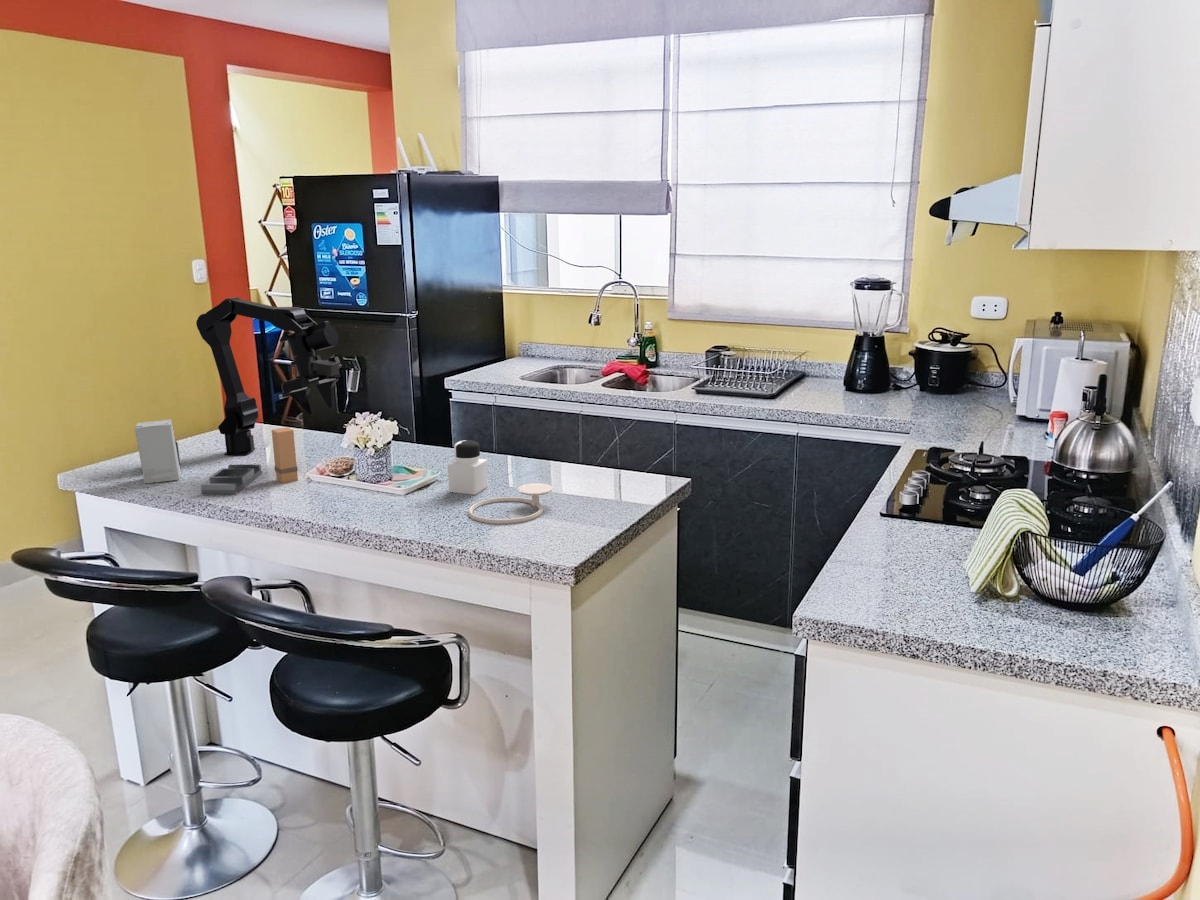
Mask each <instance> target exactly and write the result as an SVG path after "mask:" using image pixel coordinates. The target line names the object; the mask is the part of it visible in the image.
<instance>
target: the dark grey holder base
mask: <svg viewBox="0 0 1200 900" xmlns="http://www.w3.org/2000/svg"><path fill="white" fill-rule="evenodd" d="M261 473H262V465H261V464H228V466H227V468H221V469H219V470H218V471H216V472H214V474H212V475H211V476H209V477H208V478H209V479H208V480H209V481H208V482H209V483H201V485H200V488H201V489H200V490H201V495H202V494H235V495H237V494H238V493H240V492H241V491H242V490H243V489H244V488H246V487H247V486H248V485H249V484H251V483H252V482H253V481H254V480H256V479H257V478H258V477H259V476H260V475H262V474H263V473H262V474H261ZM256 477H257V478H256ZM251 481H252V482H251ZM247 484H248V485H247ZM246 485H247V486H246ZM241 489H242V490H241ZM236 493H237V494H236Z"/></svg>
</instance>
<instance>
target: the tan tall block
mask: <svg viewBox="0 0 1200 900" xmlns="http://www.w3.org/2000/svg"><path fill="white" fill-rule="evenodd" d="M271 436H272V439H271V440H272V447H273V457H274V471H275V480H276V481H277V482H279V481H280V484H287V483H291V481H292V482H297V481H298V480H299V477H298V469H299V468H298V466H297V465H298V464H297V456H296V455H297V454H296V444H295V443H296V441H295V434H294V429H291V428H289V427H282V428H281V427H280V428H275V429H271ZM296 480H297V481H296ZM286 482H287V483H286Z"/></svg>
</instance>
